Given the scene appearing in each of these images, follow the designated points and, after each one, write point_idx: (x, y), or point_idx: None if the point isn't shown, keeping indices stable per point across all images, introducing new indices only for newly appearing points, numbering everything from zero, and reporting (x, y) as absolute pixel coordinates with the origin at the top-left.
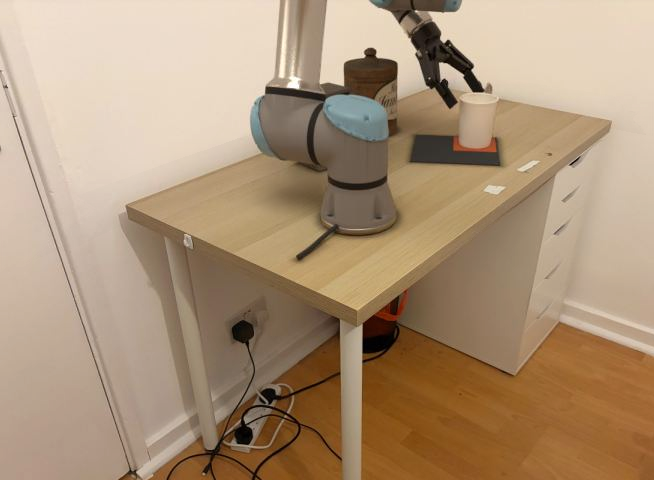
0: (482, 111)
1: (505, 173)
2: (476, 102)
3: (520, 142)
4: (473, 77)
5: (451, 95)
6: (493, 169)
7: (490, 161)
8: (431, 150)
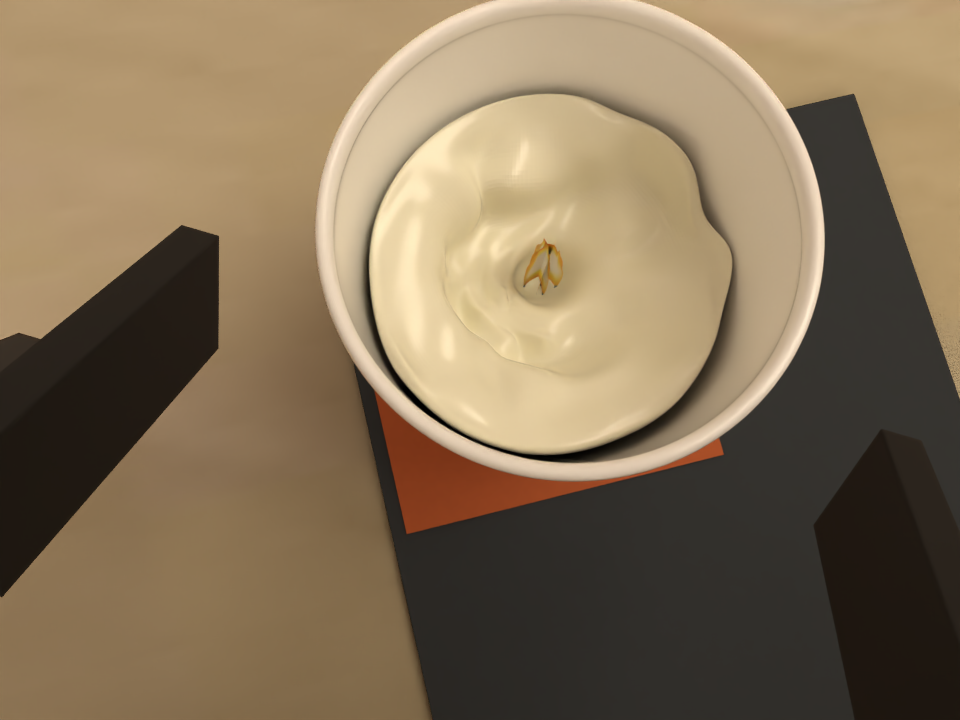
0: (748, 165)
1: (954, 48)
2: (359, 318)
3: (346, 49)
4: (70, 380)
5: (955, 532)
6: (923, 126)
7: (824, 162)
8: (787, 617)
